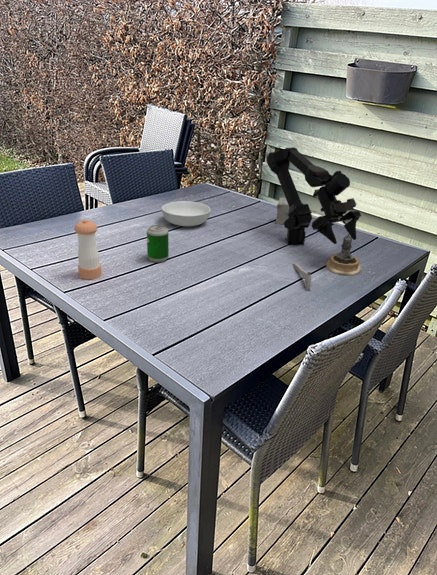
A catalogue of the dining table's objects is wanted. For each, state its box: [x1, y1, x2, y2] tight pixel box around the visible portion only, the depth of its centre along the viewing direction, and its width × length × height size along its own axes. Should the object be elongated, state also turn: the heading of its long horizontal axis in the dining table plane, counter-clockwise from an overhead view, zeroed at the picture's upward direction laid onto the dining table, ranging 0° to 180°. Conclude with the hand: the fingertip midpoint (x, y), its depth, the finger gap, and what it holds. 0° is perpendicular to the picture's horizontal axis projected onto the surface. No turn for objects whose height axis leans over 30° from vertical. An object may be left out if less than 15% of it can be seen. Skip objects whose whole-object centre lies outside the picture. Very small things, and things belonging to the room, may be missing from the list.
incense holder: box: [275, 197, 289, 225], centre depth 210 cm, size 10×8×10 cm
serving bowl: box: [161, 200, 212, 227], centre depth 205 cm, size 21×21×7 cm
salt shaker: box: [336, 233, 354, 264], centre depth 167 cm, size 6×6×12 cm
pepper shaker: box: [74, 218, 102, 280], centre depth 153 cm, size 7×7×19 cm
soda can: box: [146, 224, 170, 263], centre depth 169 cm, size 8×8×12 cm
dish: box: [325, 253, 362, 277], centre depth 170 cm, size 12×12×4 cm
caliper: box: [292, 262, 312, 291], centre depth 162 cm, size 20×1×6 cm, turn 5°
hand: (345, 241), depth 167 cm, fingers open, 9 cm apart
